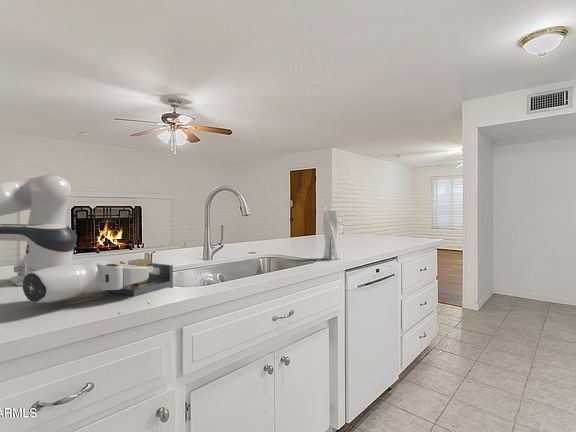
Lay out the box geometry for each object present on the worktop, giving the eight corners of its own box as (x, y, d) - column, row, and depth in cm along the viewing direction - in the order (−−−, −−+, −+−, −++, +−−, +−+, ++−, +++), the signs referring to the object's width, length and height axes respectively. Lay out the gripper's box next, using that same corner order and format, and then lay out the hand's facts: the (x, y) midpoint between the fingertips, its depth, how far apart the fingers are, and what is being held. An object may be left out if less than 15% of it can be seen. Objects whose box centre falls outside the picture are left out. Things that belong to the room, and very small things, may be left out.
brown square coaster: (54, 304, 86) (54, 300, 86) (88, 296, 94) (88, 292, 94) (72, 309, 82) (72, 304, 82) (106, 300, 90) (106, 296, 90)
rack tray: (104, 294, 96) (104, 268, 96) (144, 284, 109) (144, 262, 108) (134, 300, 90) (133, 273, 89) (173, 289, 102) (172, 265, 102)
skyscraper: (318, 258, 163) (318, 205, 163) (329, 257, 169) (328, 205, 168) (331, 260, 157) (331, 205, 157) (341, 259, 163) (341, 205, 162)
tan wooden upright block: (128, 293, 98) (127, 260, 98) (141, 289, 102) (140, 258, 102) (138, 294, 96) (137, 261, 96) (150, 291, 100) (150, 259, 100)
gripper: (77, 282, 92) (121, 274, 105) (121, 290, 83) (163, 280, 95) (77, 261, 92) (121, 255, 105) (120, 267, 83) (163, 259, 95)
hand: (142, 267), depth 100 cm, fingers open, 8 cm apart
